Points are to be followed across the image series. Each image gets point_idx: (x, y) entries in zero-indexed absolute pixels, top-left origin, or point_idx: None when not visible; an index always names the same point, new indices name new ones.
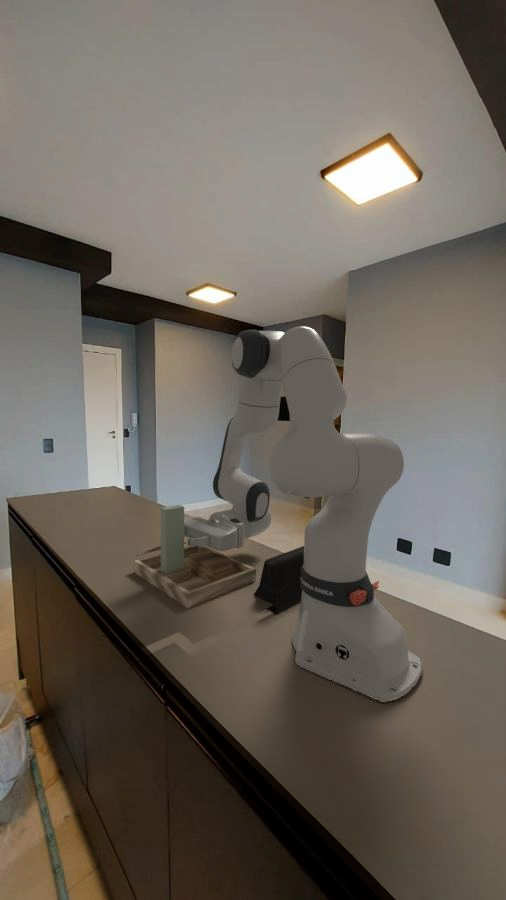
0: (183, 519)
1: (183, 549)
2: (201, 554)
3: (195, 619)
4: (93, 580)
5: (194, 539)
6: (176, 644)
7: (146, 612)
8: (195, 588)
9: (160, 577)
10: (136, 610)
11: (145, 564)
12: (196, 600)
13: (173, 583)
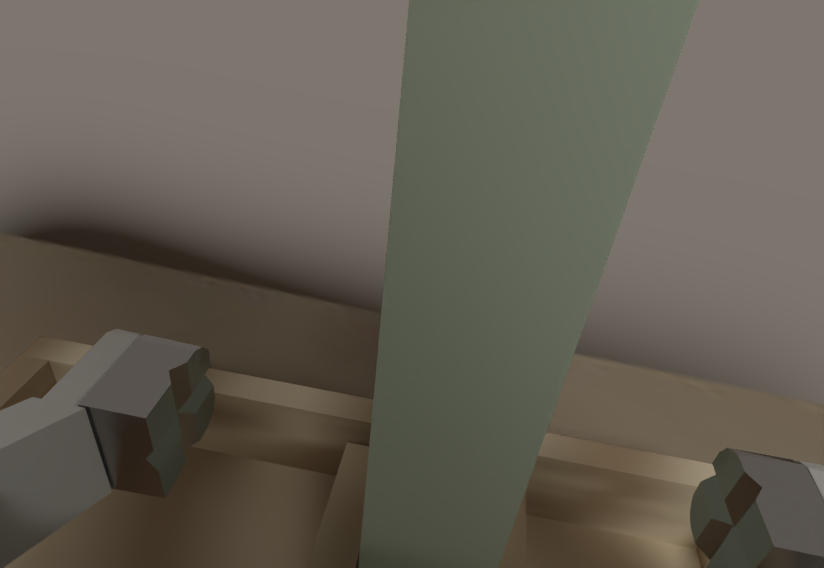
0: (402, 125)
1: (363, 539)
2: None
3: None
4: (769, 411)
5: (83, 356)
6: (32, 289)
7: (287, 357)
8: None
9: (354, 397)
10: (339, 349)
11: (633, 474)
12: None
13: (209, 378)
